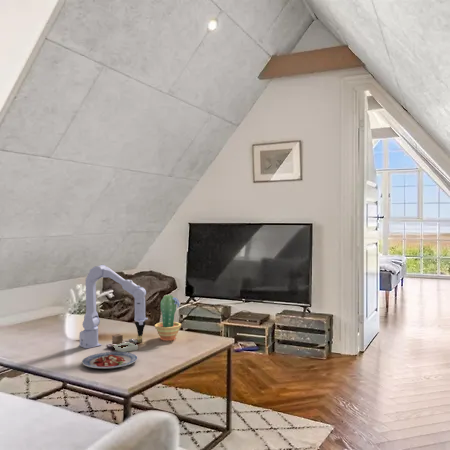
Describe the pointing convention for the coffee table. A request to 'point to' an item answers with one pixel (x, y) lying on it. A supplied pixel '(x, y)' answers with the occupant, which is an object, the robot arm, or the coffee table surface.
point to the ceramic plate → (109, 360)
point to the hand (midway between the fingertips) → (140, 335)
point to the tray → (126, 349)
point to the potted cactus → (168, 319)
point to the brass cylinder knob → (139, 339)
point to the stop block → (117, 339)
